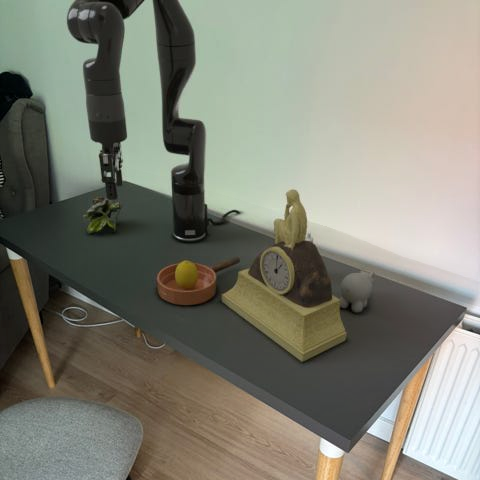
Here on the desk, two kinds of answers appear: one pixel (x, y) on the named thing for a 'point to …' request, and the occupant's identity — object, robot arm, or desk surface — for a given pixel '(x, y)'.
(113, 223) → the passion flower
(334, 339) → the decorative clock
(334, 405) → the desk surface
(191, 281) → the lemon
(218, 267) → the pan handle
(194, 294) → the pan
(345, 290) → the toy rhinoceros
